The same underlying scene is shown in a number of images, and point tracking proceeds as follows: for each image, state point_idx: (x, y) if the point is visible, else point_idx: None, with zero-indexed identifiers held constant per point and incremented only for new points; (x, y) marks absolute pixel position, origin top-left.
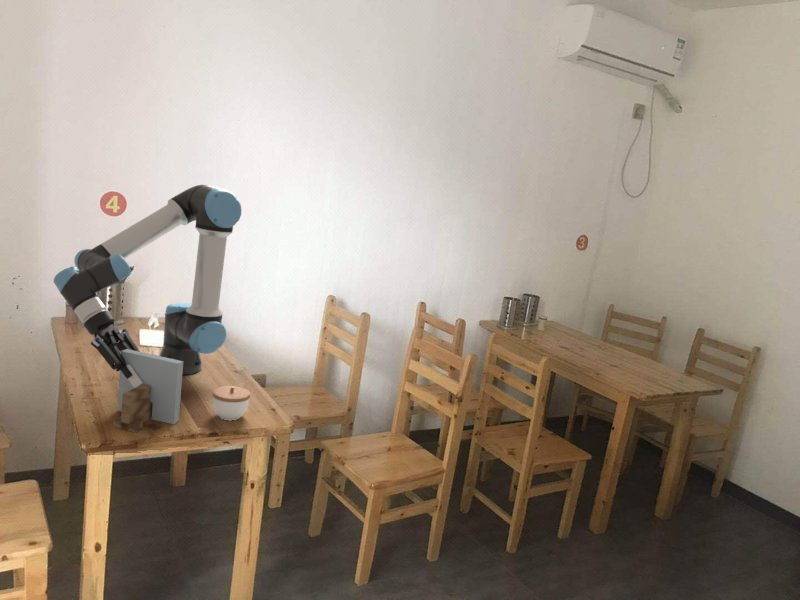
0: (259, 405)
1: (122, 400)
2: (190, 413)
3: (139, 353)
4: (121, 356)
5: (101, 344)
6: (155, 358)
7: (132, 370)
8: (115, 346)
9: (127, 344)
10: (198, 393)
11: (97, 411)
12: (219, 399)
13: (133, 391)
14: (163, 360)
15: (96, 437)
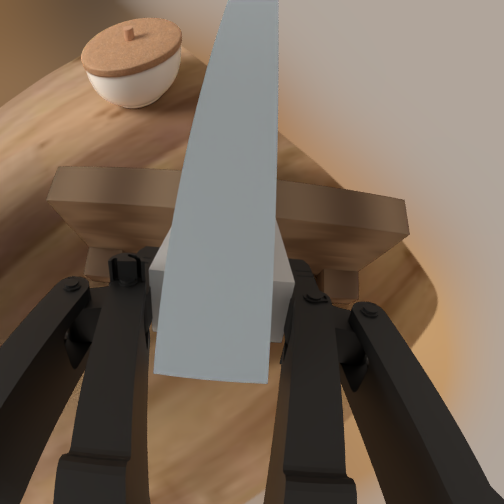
0: (62, 79)
1: (395, 243)
2: (149, 163)
3: (233, 176)
4: (306, 343)
5: (486, 493)
6: (277, 56)
7: (280, 255)
8: (313, 454)
9: (26, 427)
10: (7, 212)
11: (268, 419)
12: (177, 50)
13: (366, 209)
14: (277, 28)
15: (417, 300)
